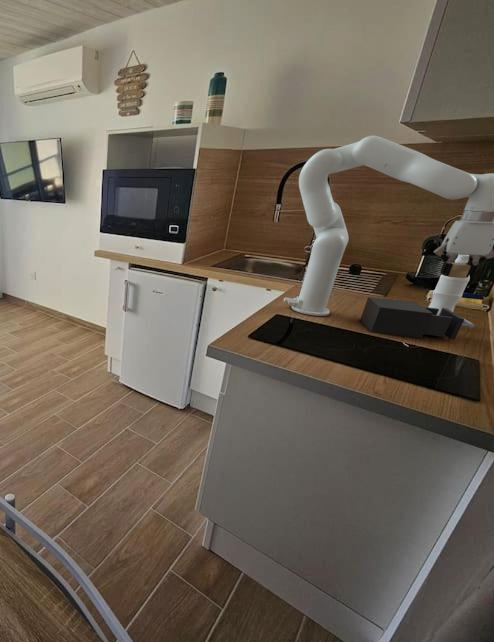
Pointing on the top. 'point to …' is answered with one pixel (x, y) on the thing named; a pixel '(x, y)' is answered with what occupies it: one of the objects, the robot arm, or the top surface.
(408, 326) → the dark grey rectangular box
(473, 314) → the top surface
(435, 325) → the drawer
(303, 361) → the top surface
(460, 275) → the block
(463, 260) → the water bottle
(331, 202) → the robot arm
